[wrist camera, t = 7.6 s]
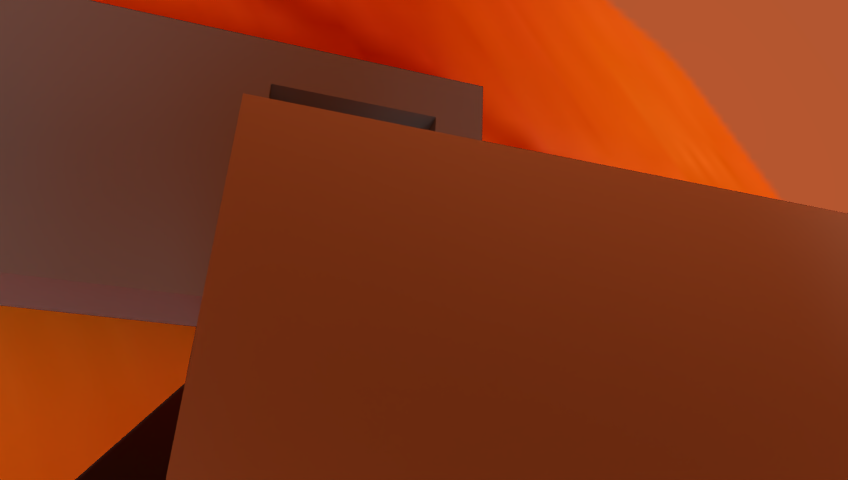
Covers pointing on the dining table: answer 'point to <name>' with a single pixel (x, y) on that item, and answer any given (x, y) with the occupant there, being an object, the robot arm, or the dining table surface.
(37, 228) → the base
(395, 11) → the dining table surface
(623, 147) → the dining table surface
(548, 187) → the rail post
